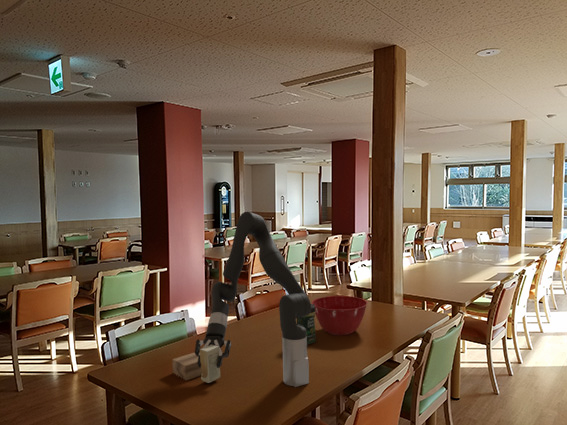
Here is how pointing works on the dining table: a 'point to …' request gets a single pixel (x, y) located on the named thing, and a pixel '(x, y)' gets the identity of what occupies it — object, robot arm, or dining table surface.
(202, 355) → the skincare box
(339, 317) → the mixing bowl
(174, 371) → the streaked beige block
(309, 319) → the coffee jar
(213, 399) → the dining table surface
